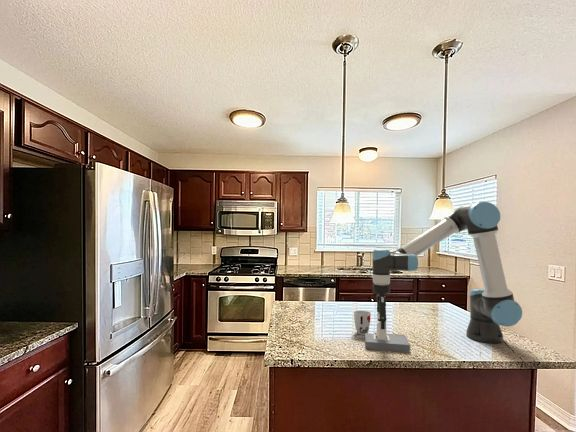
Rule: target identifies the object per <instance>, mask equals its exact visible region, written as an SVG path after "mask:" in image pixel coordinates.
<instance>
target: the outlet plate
mask: <svg viewBox="0 0 576 432" xmlns="http://www.w3.org/2000/svg"><path fill="white" fill-rule="evenodd" d="M364 342H365V343H364V344H365V349H366V350H375V351H387V352H388V351H389V352H400V353H401V352H402V353H411V345H410V343H409V340H408V338H407V336H406V335H405V336H399V335H386V339H377V334H375V333H369V332H368V333H365V335H364Z"/></svg>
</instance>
